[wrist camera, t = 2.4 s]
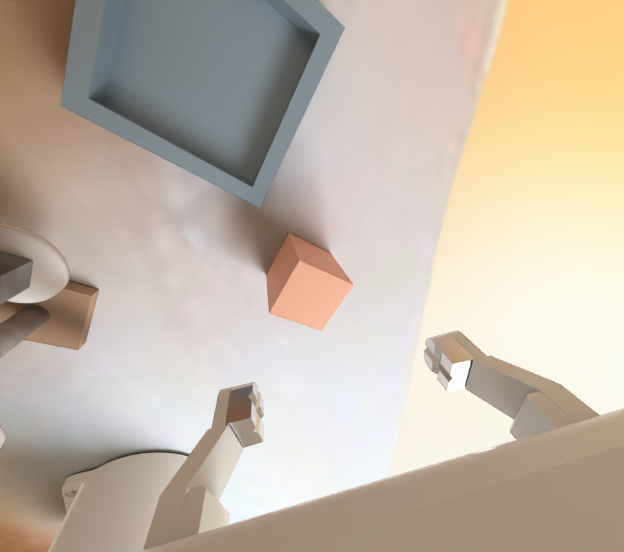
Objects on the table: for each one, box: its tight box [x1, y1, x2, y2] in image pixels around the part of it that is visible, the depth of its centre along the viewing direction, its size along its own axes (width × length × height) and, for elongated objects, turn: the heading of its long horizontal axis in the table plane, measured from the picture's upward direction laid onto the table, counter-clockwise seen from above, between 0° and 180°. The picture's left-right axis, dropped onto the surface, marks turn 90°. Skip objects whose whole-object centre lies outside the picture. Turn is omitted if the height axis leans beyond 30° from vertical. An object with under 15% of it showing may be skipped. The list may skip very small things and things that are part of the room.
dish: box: [61, 0, 345, 208], centre depth 13 cm, size 11×11×2 cm
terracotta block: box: [266, 233, 353, 330], centre depth 19 cm, size 4×4×6 cm
